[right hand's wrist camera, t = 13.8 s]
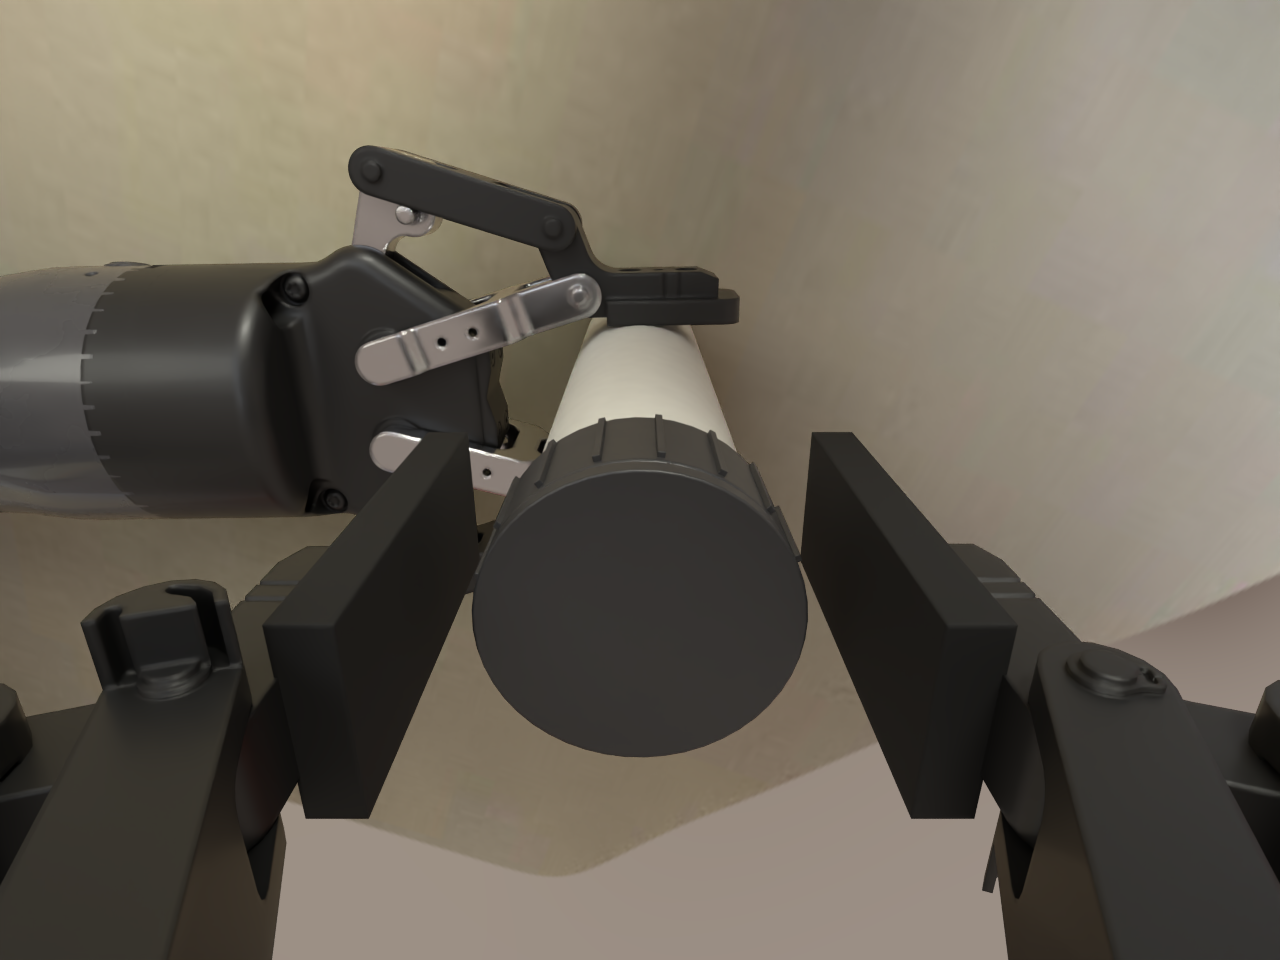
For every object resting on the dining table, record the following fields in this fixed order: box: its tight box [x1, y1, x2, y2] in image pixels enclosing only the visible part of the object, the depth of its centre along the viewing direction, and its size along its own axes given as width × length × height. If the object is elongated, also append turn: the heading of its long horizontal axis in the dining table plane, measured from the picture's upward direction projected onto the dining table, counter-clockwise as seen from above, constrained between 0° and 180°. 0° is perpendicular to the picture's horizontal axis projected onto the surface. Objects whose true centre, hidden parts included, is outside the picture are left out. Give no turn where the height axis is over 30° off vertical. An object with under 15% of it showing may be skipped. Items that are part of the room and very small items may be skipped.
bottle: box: [543, 318, 737, 452], centre depth 19 cm, size 4×4×18 cm
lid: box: [472, 414, 808, 757], centre depth 11 cm, size 5×5×2 cm
